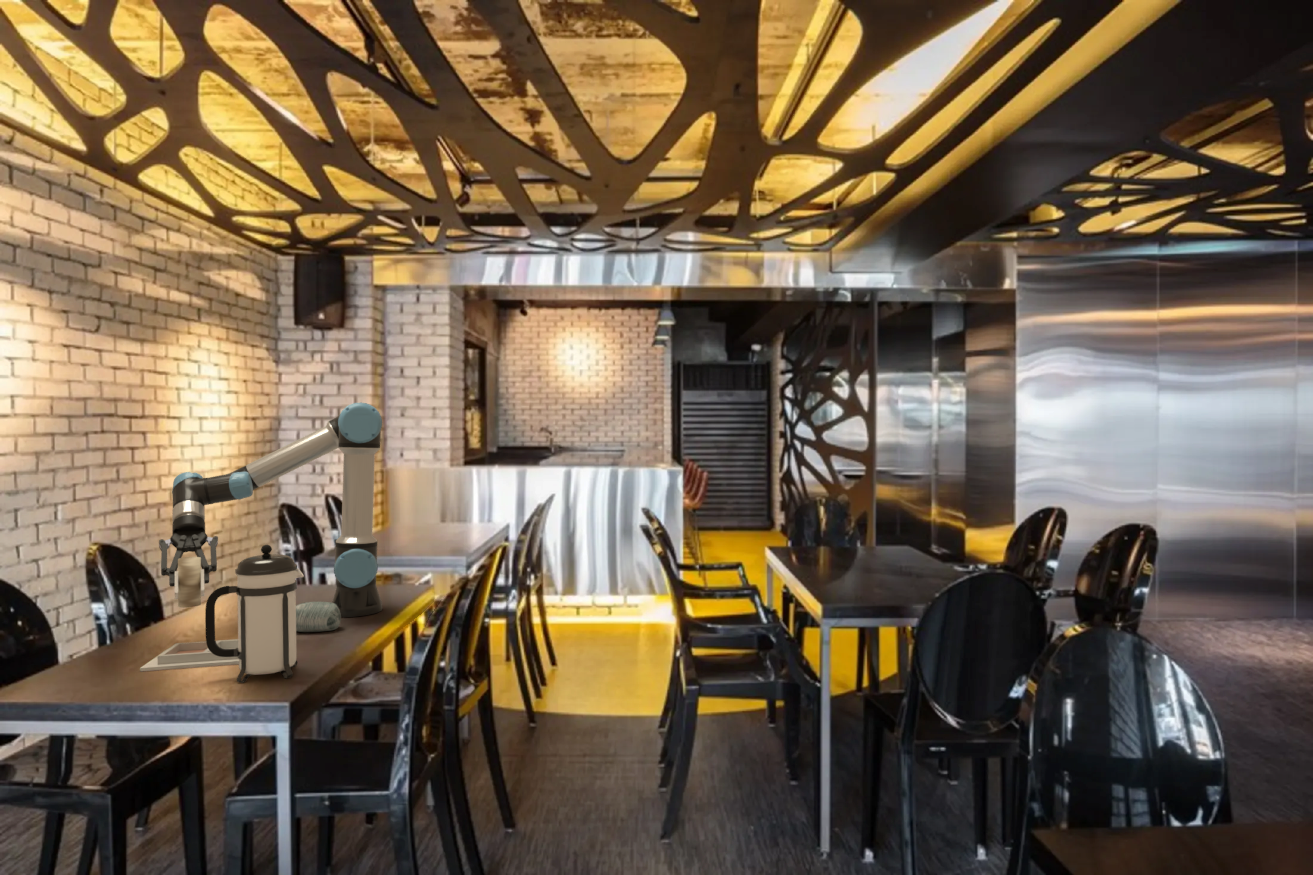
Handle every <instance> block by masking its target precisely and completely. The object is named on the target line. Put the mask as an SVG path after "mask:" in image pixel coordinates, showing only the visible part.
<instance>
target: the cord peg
mask: <svg viewBox="0 0 1313 875" xmlns="http://www.w3.org/2000/svg"><path fill="white" fill-rule="evenodd" d="M201 569H202V568H201V557H197V556H186V557H181V558H179V559H178V568H177V571H178V599H177V607H178V608H183V609H184V608H196V607H198V606H201V605H202V596H201Z"/></svg>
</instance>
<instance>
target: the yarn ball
mask: <svg viewBox="0 0 1313 875" xmlns="http://www.w3.org/2000/svg"><path fill="white" fill-rule="evenodd" d="M341 621H342V617H341V614H340V610H339V608H338V606H337V605H336V604H334V603H332V602H331V601H330V602H329V601H306V602H301V603H298V604H296V632H298V633H318V632H330V631H334V630H337V629H338V628H339V627H340V624H341Z"/></svg>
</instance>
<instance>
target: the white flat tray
mask: <svg viewBox="0 0 1313 875" xmlns="http://www.w3.org/2000/svg"><path fill="white" fill-rule="evenodd" d="M215 641H216V644H217V645H218V646H219V647H220V648H222V649H236V648H238V638H236V639H222V640H219V639H218V640H215ZM232 665H233V666H235V665H236V666H237V665H239V659H238V658H237V657H220V656H216V655H214V654H213V653H212V652H210V650H209V649H208V647H207V643H206V640H205V641H191V642H189V641H188V642H178V643H177V642H176V643H174V644H173V645H171V646H170V647H169V648H167V649H165V650H164V651H162V652H161V653H160V654H158V655H156V656H155V657H153V659H151V660H150V661H148V662H147V663H145V664H144V665H142V666H141V667H140V668H139V672H150V671H153V672H154V671H164V670H165V671H166V670H179V669H192V668H207V667H219V666H232Z"/></svg>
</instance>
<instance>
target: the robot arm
mask: <svg viewBox="0 0 1313 875" xmlns="http://www.w3.org/2000/svg"><path fill="white" fill-rule="evenodd" d="M382 428H383V419H382V416H381V414H380V412H379V411H378V409H377V408H376V407H375V406H373V405H371V404H370V403H366V402H353V403H350V404H348V405H346V406H345V407H344V408H343V410H341V412H340V414H339V415H338V416H336V417H334V418H332V419H330V420H329V421H327V423H326V425H325V426H324V427H321V428H320V429H318V430H315V431H313V432H311V433H309V434H307V435H305V436H303V437H301V438H299V439H297V440H295V441H293V442H291V443H289V444H287V445H285V446H283V447H281V448H279V449H276V450H274V451H272V452H270V453H268V454H266V455H264V456H262V457H260V458H258V459H256V460H254V461H251V462H250V463H248V464H246V465H244V466H242V467H240V468H238V469H236V470H233V471H231V472H229V473H226V474H222V475H215V476H211V477H203V476H202V475H201V474H200V473H198V472H190V471H184V472H181V473H180V474H178V475H176V477H175V478H174V480H173V483H172V490H171V494H172V495H171V496H172V512H171V513H172V515H171V516H172V518H171V520H172V524H171V525H172V529H171V530H172V531H171V532H172V535H171V536H170V538H169V539H159V541H158V546H159V550H160V553H161V556H160V557H161V558H160V559H161V560H160V573H161V576H168V577H169V579H168V580H169V587H174V600H176V599H177V600H178V559H179V558H183V556H184V553H188V552H189V553H191V552H192V553H194V554H195V556H196V557H201V597H205V584H209V583H210V573H211V572H214V573H215V572H217V569H218V568H217V566H218V562H217V560H218V559H217V547H218V545H219V537H218V536H217V535H215V536H213V537H211V536H208V534H206V522H205V521H206V513H205V512H206V511H205V506H207V505H213V504H219V503H224V502H229V501H230V502H231V501H236V500H238V501H240V500H243V499H247V498H250V497H252V496H253V494H254V491H255V490H257V489H258V488H260V487H262V486H265V485H266V484H268V483H270V482H273V481H275V480H277V479H279V478H280V477H283V476H285V475H287V474H289V473H291V472H293V471H294V470H296V469H297V470H298V469H299V468H300V467H303V466H304V465H307V464H309V463H311V462H312V461H314V460H315V461H316V460H317V459H319V458H321V457H322V456H325V455H327V454H329V453H331V452H333V451H335V450H340V451H341V452H342V454H343V462H342V463H343V465H342V466H343V469H342V471H343V472H342V500H341V501H342V502H341V503H342V504H341V533H340V534H341V535H340V536H339V537H338V538H337V539H335V547H334V565H333V574H334V577H335V581H336V582H335V583H336V584H335V585H336V586H335V587H336V588H335V592H334V596H333V597H332V600H331V601H332V602H331V603H334V604H336V605H337V606H338V608H339V610H340V614H341V618H351V617H352V618H353V617H355V618H357V617H362V616H364V617H365V616H369V615H370V616H371V615H374V614H378V613H380V612H382V611H383V601H382V598H381V596H380V592H379V591H378V587H377V573H378V571H379V570H378V569H379V564H378V539H377V538H376V537H375V536H374V534H373V526H374V525H373V522H374V521H373V520H374V490H375V487H374V486H375V457H376V456H375V455H376V453H378V452H379V451H380V450H381V437H382V436H381V435H382V434H381V433H382V432H381V431H382ZM206 543H208V546H209V547H210V564H209V562H208V560H207V558H206V556H205V554H204V551H203V546H204V545H205V544H206ZM170 545H172V546H173V547H174V548H175V549H176V550H175V553H174V556H173V557H172V561H171V564H170V567H168V549H169V548H170V547H171V546H170Z"/></svg>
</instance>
